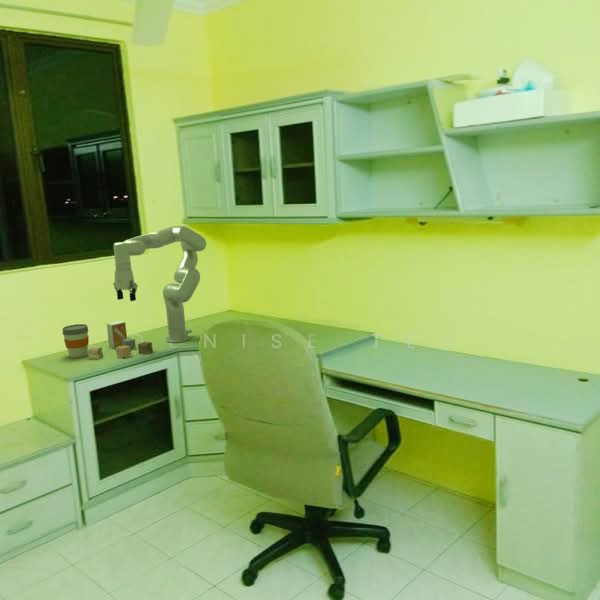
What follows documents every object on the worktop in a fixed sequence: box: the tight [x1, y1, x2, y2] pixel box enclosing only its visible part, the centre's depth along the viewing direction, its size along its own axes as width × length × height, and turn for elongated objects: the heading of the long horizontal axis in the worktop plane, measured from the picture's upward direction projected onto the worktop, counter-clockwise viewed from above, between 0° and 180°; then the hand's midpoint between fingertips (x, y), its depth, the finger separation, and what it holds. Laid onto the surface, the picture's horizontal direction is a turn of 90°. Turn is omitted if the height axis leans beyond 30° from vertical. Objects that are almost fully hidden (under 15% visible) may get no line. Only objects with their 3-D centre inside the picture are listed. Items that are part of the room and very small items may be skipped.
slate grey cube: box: [122, 337, 137, 350], centre depth 318 cm, size 5×5×5 cm
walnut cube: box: [137, 341, 153, 355], centre depth 310 cm, size 5×5×5 cm
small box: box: [106, 320, 128, 349], centre depth 324 cm, size 8×6×13 cm
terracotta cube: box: [115, 345, 132, 358], centre depth 305 cm, size 5×5×5 cm
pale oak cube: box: [87, 346, 104, 360], centre depth 305 cm, size 5×5×5 cm
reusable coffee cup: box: [62, 323, 90, 358], centre depth 310 cm, size 13×12×15 cm
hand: (126, 299), depth 305 cm, fingers open, 9 cm apart
